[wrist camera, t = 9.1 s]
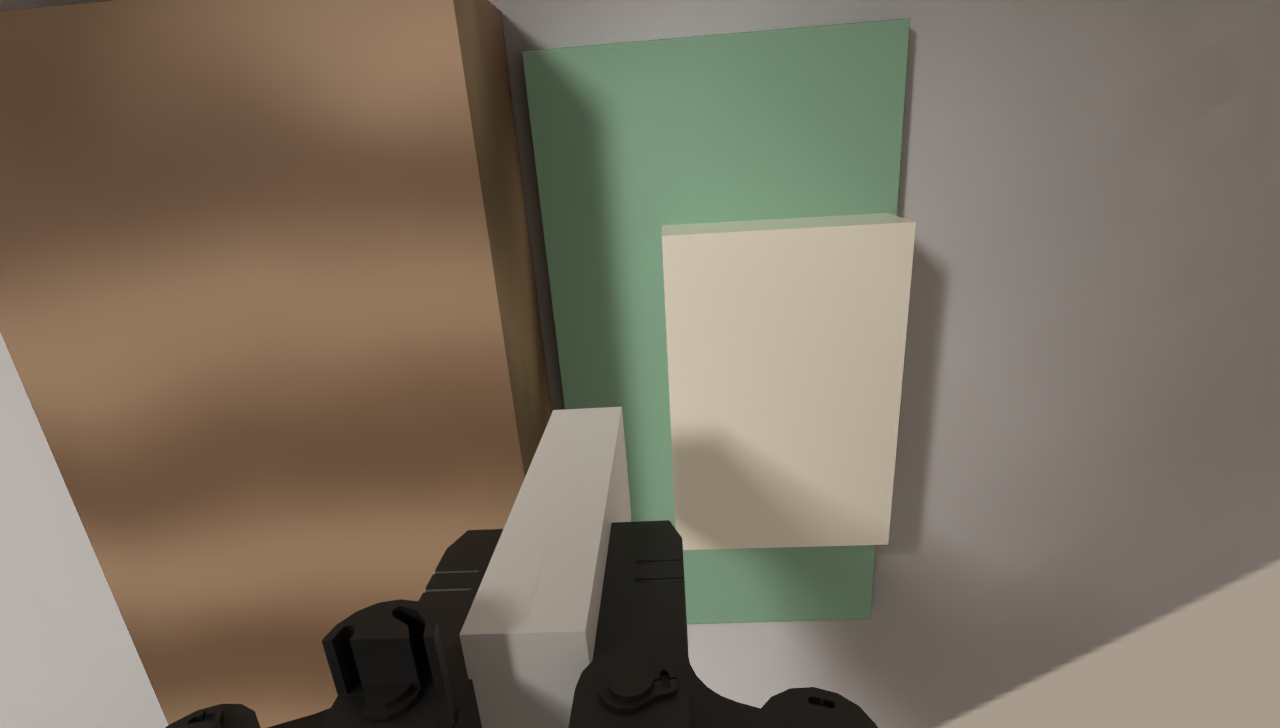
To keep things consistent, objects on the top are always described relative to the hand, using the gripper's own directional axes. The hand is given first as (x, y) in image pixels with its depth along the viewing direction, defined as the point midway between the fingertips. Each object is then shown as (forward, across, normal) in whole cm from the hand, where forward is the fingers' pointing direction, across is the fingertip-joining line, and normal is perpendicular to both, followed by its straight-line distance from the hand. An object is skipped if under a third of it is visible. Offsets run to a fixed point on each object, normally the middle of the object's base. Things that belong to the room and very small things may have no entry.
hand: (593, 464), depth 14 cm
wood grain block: (+5, -8, 0) cm, 10 cm away
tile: (+3, +5, 0) cm, 6 cm away
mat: (+5, +3, 0) cm, 6 cm away
